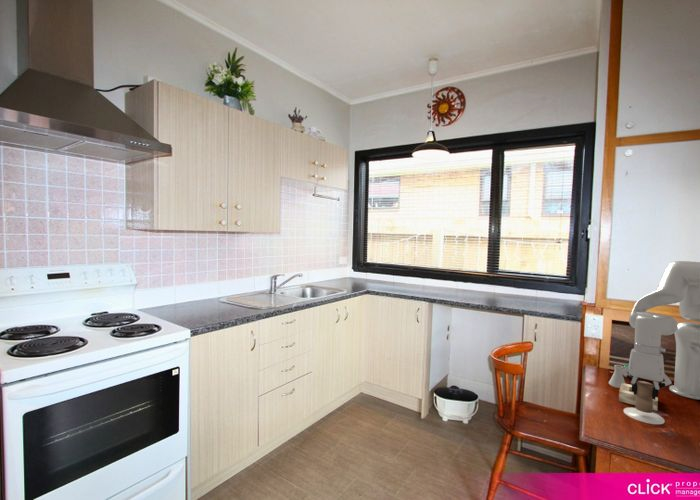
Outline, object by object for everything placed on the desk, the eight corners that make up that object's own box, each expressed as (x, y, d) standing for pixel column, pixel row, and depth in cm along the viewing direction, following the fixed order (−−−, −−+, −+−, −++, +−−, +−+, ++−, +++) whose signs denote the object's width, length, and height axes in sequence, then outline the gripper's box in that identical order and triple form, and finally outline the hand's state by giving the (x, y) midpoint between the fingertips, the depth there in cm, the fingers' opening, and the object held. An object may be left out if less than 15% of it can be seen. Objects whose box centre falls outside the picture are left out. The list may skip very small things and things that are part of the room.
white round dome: (644, 410, 139) (644, 407, 139) (673, 426, 127) (673, 423, 127) (615, 410, 139) (615, 407, 139) (642, 427, 127) (642, 423, 127)
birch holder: (657, 402, 146) (658, 391, 146) (657, 413, 137) (657, 400, 137) (621, 393, 154) (621, 382, 154) (618, 403, 145) (619, 391, 145)
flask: (620, 384, 164) (621, 363, 164) (631, 391, 157) (632, 369, 156) (604, 383, 165) (605, 362, 164) (614, 390, 158) (615, 368, 157)
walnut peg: (644, 406, 136) (645, 381, 135) (656, 412, 131) (657, 386, 130) (631, 406, 135) (633, 381, 135) (643, 413, 130) (644, 386, 130)
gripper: (677, 351, 129) (674, 400, 130) (619, 341, 140) (617, 386, 141) (678, 356, 124) (675, 407, 124) (617, 345, 135) (615, 392, 136)
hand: (644, 395), depth 133 cm, fingers closed on walnut peg, 5 cm apart
